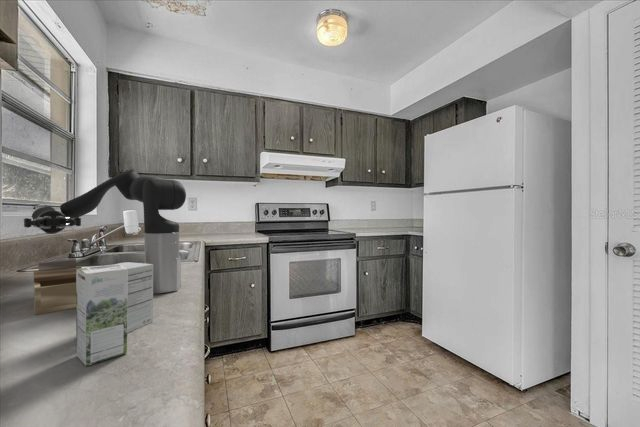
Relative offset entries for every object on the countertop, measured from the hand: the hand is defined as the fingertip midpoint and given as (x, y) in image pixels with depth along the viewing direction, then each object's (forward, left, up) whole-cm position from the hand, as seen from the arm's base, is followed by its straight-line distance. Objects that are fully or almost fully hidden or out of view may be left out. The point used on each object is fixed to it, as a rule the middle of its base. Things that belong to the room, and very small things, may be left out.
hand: (55, 223), depth 90 cm
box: (-10, +18, -20) cm, 29 cm away
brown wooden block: (-7, +11, -14) cm, 19 cm away
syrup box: (-33, +51, -20) cm, 64 cm away
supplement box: (-32, +38, -20) cm, 54 cm away
